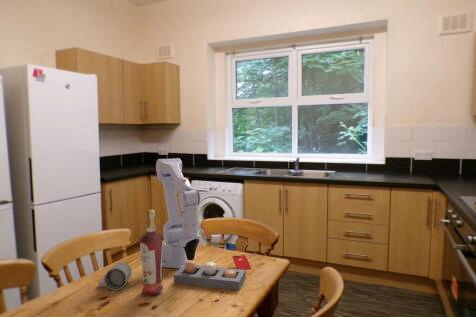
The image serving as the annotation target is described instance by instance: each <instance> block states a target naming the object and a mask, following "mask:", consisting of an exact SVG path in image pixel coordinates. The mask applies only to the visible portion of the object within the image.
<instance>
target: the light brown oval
mask: <svg viewBox="0 0 476 317" xmlns="http://www.w3.org/2000/svg"><path fill="white" fill-rule="evenodd" d="M225 277H227V278H236V272H235V271H234V270H227V271H225Z"/></svg>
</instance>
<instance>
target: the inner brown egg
mask: <svg viewBox="0 0 476 317" xmlns="http://www.w3.org/2000/svg"><path fill="white" fill-rule="evenodd" d="M196 265H197V261H196V260H190V261H187V262H185V271H186V272H187V273H193V272H195V271H196Z"/></svg>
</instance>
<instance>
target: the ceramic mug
mask: <svg viewBox="0 0 476 317" xmlns="http://www.w3.org/2000/svg"><path fill="white" fill-rule="evenodd" d="M131 276H132V268H131V266H130V265H129V264H128V263H127V262H123V261H121V262H117V263H115V264H114V265H113V266H112V267H111V268H109V270H107V271H106V273H105V275H104V276H103V279H101V280H100V281H99V282H98V285H99V287H100V288H104V287H107V289H110V290H112V291H119V290H122V289H123V288H124V287H125V286H126V284H127V283H128V281H129V280H130V278H131Z"/></svg>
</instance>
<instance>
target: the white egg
mask: <svg viewBox="0 0 476 317" xmlns="http://www.w3.org/2000/svg"><path fill="white" fill-rule="evenodd" d="M204 266H205V274H207V275H212V274H215V273H216V267H217V265H216V263H215V262H213V261H210V262H209V261H208V262H205V263H204Z"/></svg>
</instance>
